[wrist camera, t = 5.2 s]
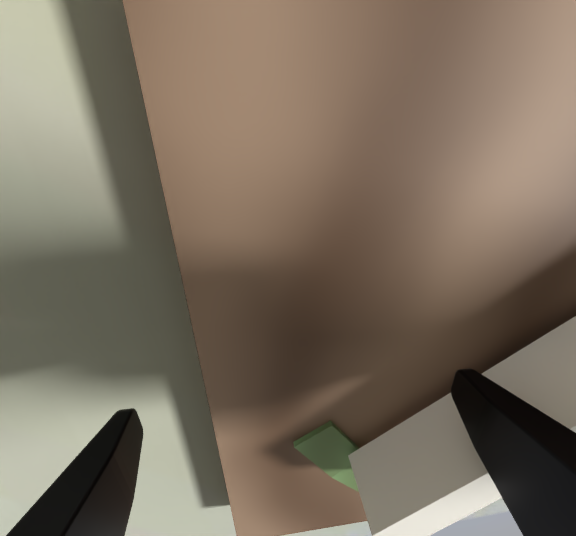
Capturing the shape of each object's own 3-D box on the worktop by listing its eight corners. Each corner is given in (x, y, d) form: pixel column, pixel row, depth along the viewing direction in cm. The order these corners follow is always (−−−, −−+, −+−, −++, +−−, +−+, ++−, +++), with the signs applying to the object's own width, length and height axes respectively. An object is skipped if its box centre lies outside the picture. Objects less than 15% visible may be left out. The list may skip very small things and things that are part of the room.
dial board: (1007, -59, 9) (1165, -91, 7) (651, 439, 18) (688, 471, 17) (129, -57, 7) (97, -100, 5) (238, 505, 16) (238, 547, 14)
